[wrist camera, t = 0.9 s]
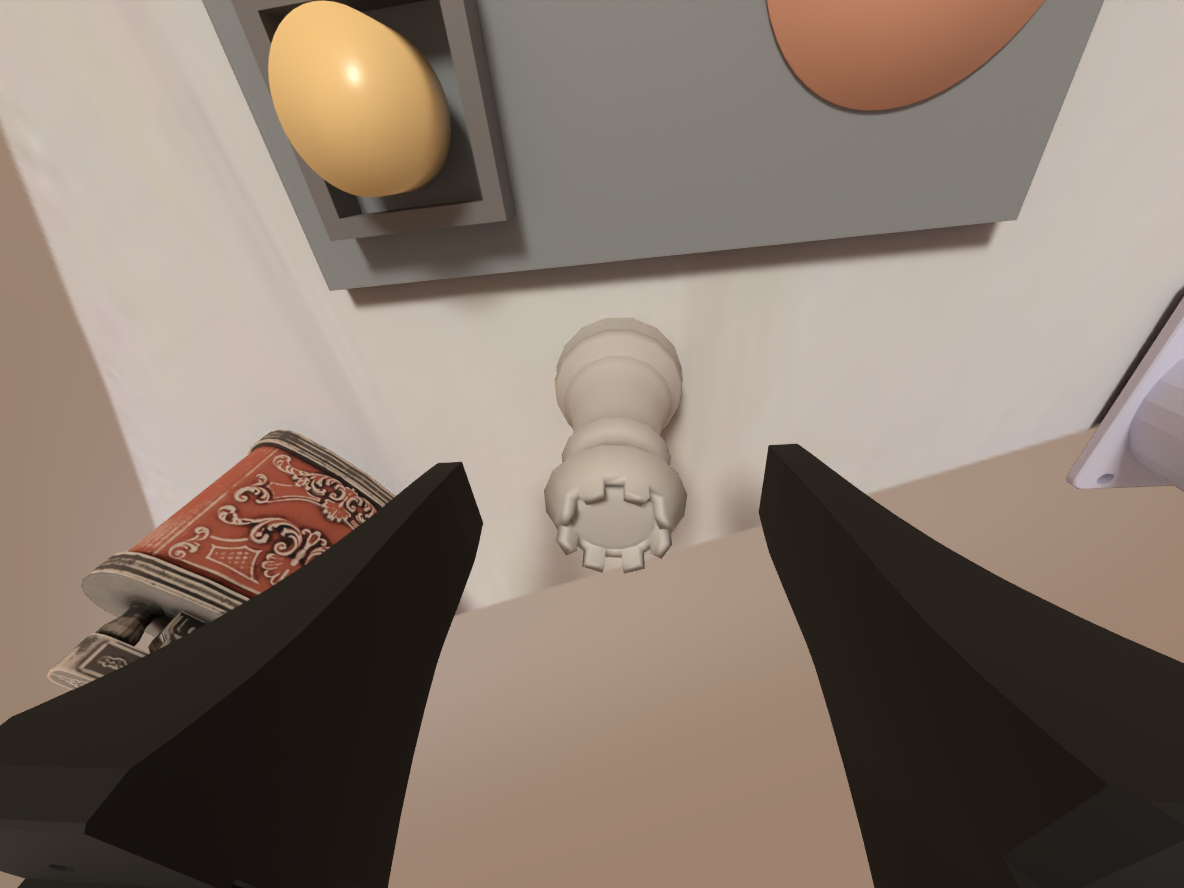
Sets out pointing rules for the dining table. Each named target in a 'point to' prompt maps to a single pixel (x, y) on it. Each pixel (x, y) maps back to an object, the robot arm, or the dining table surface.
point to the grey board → (685, 126)
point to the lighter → (222, 550)
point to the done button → (358, 100)
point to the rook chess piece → (616, 444)
